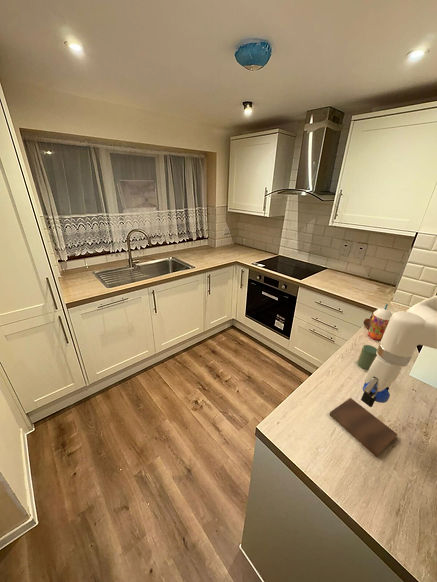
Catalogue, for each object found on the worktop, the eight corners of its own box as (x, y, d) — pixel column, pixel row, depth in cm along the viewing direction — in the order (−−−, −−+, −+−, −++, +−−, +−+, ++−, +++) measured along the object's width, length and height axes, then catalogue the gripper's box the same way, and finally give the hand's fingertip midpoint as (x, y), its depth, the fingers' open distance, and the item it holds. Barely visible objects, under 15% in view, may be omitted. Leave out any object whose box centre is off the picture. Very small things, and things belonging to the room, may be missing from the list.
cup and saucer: (370, 334, 127) (374, 324, 125) (358, 322, 138) (361, 313, 135) (392, 334, 128) (396, 325, 125) (377, 322, 139) (381, 313, 136)
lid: (357, 389, 73) (359, 386, 73) (370, 381, 77) (371, 378, 76) (380, 406, 68) (382, 402, 67) (392, 397, 71) (394, 393, 71)
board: (396, 437, 75) (397, 434, 75) (376, 457, 70) (377, 453, 69) (349, 400, 88) (350, 397, 87) (329, 414, 82) (330, 411, 81)
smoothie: (363, 336, 125) (374, 303, 117) (368, 330, 130) (380, 298, 122) (380, 344, 120) (394, 310, 111) (385, 337, 125) (399, 305, 116)
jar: (374, 367, 104) (381, 350, 100) (367, 371, 102) (374, 355, 98) (361, 358, 109) (367, 343, 105) (354, 363, 106) (360, 347, 102)
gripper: (394, 337, 73) (375, 380, 80) (362, 355, 64) (345, 400, 72) (422, 351, 67) (399, 396, 74) (392, 373, 59) (369, 420, 66)
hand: (373, 398), depth 73 cm, fingers closed on lid, 6 cm apart
